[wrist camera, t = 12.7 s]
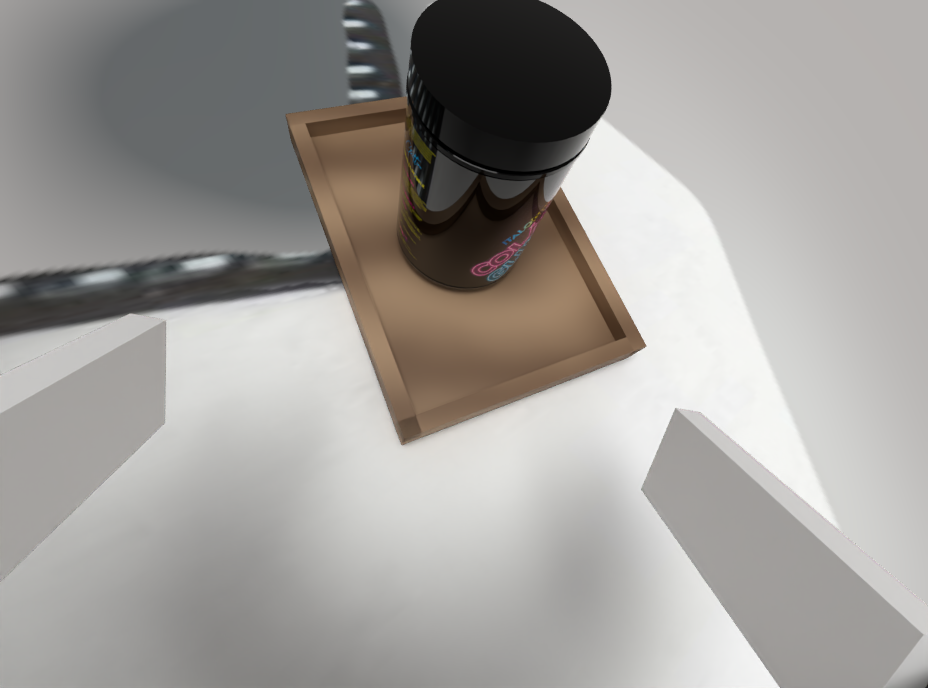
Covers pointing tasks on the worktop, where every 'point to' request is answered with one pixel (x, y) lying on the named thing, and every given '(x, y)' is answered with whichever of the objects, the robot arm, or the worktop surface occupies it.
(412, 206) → the supplement container
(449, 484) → the worktop surface
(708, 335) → the worktop surface
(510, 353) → the tray
